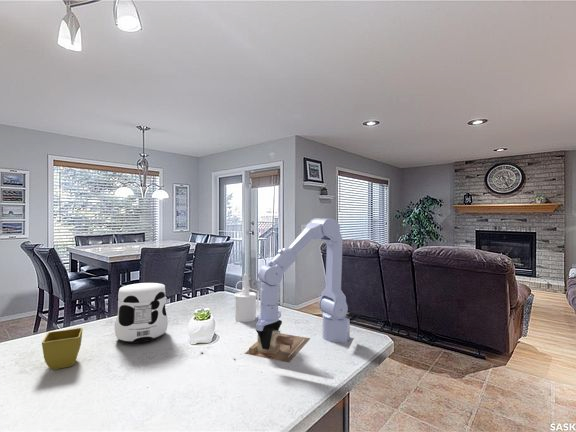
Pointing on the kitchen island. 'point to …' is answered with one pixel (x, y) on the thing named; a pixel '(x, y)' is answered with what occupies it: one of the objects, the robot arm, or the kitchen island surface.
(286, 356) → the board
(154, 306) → the milk container
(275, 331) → the mallet
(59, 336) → the flower pot
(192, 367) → the kitchen island surface
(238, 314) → the white soap dispenser
